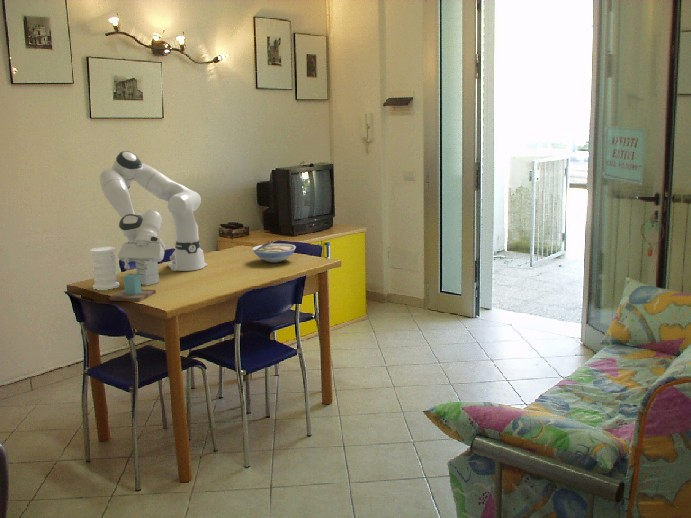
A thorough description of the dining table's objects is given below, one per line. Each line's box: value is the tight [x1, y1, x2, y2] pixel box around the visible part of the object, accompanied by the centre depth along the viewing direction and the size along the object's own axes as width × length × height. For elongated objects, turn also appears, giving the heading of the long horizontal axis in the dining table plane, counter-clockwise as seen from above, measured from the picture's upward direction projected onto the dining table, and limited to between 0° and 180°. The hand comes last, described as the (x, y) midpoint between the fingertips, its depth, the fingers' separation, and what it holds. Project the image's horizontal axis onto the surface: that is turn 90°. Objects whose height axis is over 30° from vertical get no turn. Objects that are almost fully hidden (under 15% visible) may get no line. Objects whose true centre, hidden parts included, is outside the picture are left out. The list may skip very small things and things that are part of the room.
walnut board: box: [109, 288, 157, 302], centre depth 302 cm, size 14×14×2 cm
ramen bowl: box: [252, 240, 297, 264], centre depth 365 cm, size 25×23×8 cm
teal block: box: [123, 273, 142, 295], centre depth 301 cm, size 5×5×8 cm
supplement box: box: [134, 261, 160, 286], centre depth 324 cm, size 7×7×13 cm
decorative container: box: [89, 245, 120, 291], centre depth 318 cm, size 12×12×18 cm
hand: (136, 268), depth 302 cm, fingers open, 8 cm apart
